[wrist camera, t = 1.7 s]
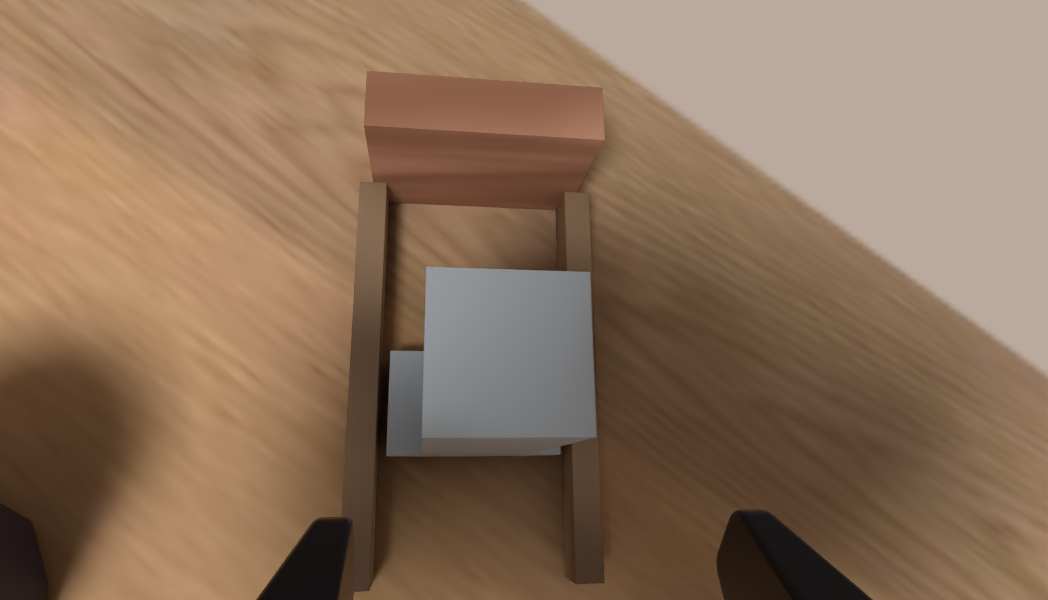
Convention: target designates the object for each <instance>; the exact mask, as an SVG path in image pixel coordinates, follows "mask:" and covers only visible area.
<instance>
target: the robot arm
mask: <svg viewBox="0 0 1048 600" xmlns="http://www.w3.org/2000/svg"><path fill="white" fill-rule="evenodd" d="M717 572H718V577H719V581H720V585H721V589H722V593H723V597H724V600H872V599H871V598H870V597H869V596H868V595H867V594H865V593H864V592H863V591H862V590H861V589H860V588H858V587H857V586H856V585H855V584H854V583H852V582H851V581H850V580H849V579H848V578H847V577H845V576H844V575H843V574H842V573H841V572H839V571H838V570H837V569H836V568H835V567H834V566H832V565H831V564H830V563H829V562H828V561H827V560H825V559H824V558H823V557H822V556H821V555H819V554H818V553H817V552H816V551H815V550H814V549H812V548H811V547H810V546H809V545H808V544H806V543H805V542H804V541H803V540H802V539H801V538H799V537H798V536H797V535H796V534H795V533H794V532H792V531H791V530H790V529H789V528H788V527H786V526H785V525H784V524H783V523H782V522H781V521H779V520H778V519H777V518H776V517H775V516H774V515H772V514H771V513H769V512H767V511H765V510H738V511H735V512H734V513H733V514H732V515H731V517H730V519H729V522H728V525H727V527H726V530H725V533H724V536H723V539H722V542H721V545H720V548H719V550H718V554H717ZM354 583H355V551H354V529H353V522H352V520H351V519H350V518H348V517H321V518H318V519H316V520H315V521H314V522H313V523H312V524H311V525H310V526H309V528H308V529H307V531H306V532H305V533H304V535H303V536H302V537H301V539H300V540H299V542H298V543H297V544H296V546H295V547H294V548H293V550H292V551H291V553H290V554H289V555H288V557H287V558H286V559H285V561H284V562H283V564H282V565H281V566H280V568H279V569H278V571H277V572H276V573H275V575H274V576H273V577H272V579H271V580H270V582H269V583H268V584H267V586H266V587H265V588H264V590H263V591H262V593H261V594H260V595H259V597H258V598H257V599H256V600H353V595H354Z"/></svg>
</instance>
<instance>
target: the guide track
mask: <svg viewBox="0 0 1048 600" xmlns="http://www.w3.org/2000/svg"><path fill="white" fill-rule="evenodd" d="M364 128H365V134H366V140H367V146H368V152H369V158H370V164H371V170H372V177H373V183H372V182H360V195H359V213H358V231H357V249H356V268H355V286H354V304H353V322H352V341H351V359H350V377H349V395H348V413H347V432H346V450H345V468H344V486H343V505H342V517H348V518H350V519H351V520H352V522H353V529H354V551H355V583H354V592H358V591H369V590H370V588H371V586H372V584H373V567H374V544H375V520H376V497H377V473H378V450H379V426H380V403H381V379H382V356H383V332H384V309H385V285H386V262H387V238H388V215H389V202H392V203H414V204H436V205H459V206H481V207H503V208H525V209H547V210H556V239H557V271H575V272H590V282H591V308H592V334H593V360H594V386H595V411H596V437H595V438H592V439H588V440H584V441H580V442H576V443H572V444H568V445H564V446H562V473H563V512H564V552H565V577H566V578H568V579H569V580H571V581H572V582H574V583H575V584H589V583H604V563H603V538H602V513H601V487H600V462H599V437H598V411H597V386H596V360H595V335H594V310H593V284H592V259H591V234H590V208H589V193H577V191H578V189H579V187H580V186H581V184H582V182H583V180H584V178H585V176H586V174H587V172H588V171H589V169H590V167H591V165H592V163H593V161H594V159H595V157H596V156H597V154H598V152H599V150H600V148H601V146H602V144H603V142H604V141H605V133H604V112H603V91H602V88H596V87H583V86H569V85H555V84H541V83H527V82H513V81H499V80H485V79H471V78H457V77H444V76H430V75H416V74H402V73H388V72H374V71H367V81H366V99H365V117H364Z"/></svg>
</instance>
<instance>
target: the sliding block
mask: <svg viewBox="0 0 1048 600" xmlns="http://www.w3.org/2000/svg"><path fill="white" fill-rule="evenodd" d="M595 437H596V411H595V386H594V360H593V334H592V308H591V282H590V272H575V271H544V270H512V269H481V268H450V267H426V294H425V332H424V351H390V372H389V397H388V422H387V447H386V456H387V457H449V456H556V455H561V446H564V445H568V444H572V443H576V442H580V441H584V440H588V439H592V438H595Z"/></svg>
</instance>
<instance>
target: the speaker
mask: <svg viewBox="0 0 1048 600" xmlns="http://www.w3.org/2000/svg"><path fill="white" fill-rule="evenodd" d="M46 587H47V579H46V576H45V572H44V568H43V564H42V561H41V557H40V553H39V549H38V545H37V542H36V538H35V534H34V530H33V527H32V523H31V521H30V520H28V519H27V518H25V517H23V516H21V515H20V514H18V513H16V512H14V511H13V510H11V509H9V508H7V507H5V506H4V505H2V504H0V600H43V599H44V595H45V591H46Z"/></svg>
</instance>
